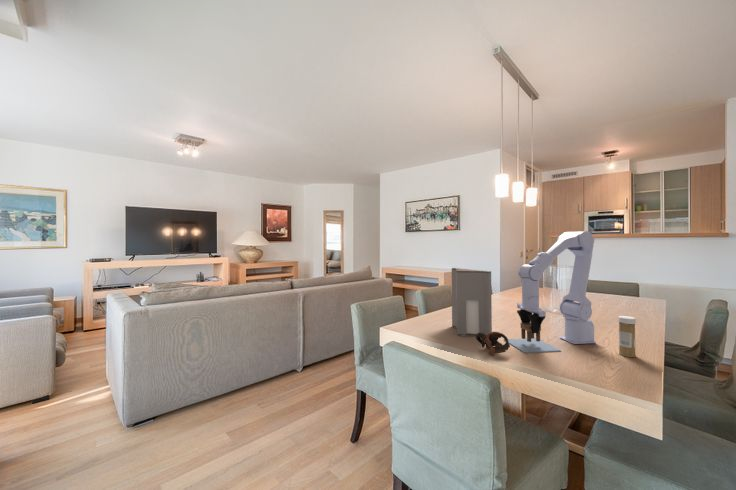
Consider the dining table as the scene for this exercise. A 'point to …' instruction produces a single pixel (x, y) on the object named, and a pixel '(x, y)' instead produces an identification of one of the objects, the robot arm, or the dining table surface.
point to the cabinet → (471, 302)
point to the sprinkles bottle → (627, 336)
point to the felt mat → (532, 345)
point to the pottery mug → (493, 342)
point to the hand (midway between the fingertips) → (530, 330)
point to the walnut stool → (529, 332)
